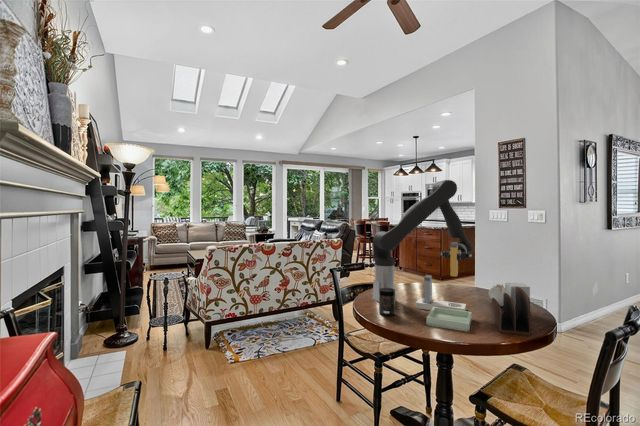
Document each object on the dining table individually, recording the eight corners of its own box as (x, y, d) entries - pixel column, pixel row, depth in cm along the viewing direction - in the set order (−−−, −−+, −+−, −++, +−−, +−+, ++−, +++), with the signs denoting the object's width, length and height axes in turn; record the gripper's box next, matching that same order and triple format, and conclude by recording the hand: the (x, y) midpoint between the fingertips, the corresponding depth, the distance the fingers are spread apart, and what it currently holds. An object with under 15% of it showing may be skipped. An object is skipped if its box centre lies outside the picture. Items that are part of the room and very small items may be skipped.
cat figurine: (506, 288, 148) (497, 277, 162) (489, 296, 150) (481, 284, 164) (518, 306, 148) (507, 293, 162) (500, 314, 150) (491, 301, 164)
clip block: (416, 308, 150) (416, 300, 150) (419, 303, 157) (419, 296, 157) (464, 314, 141) (464, 307, 141) (466, 309, 148) (466, 302, 147)
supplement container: (394, 311, 145) (394, 288, 145) (395, 317, 138) (395, 292, 138) (378, 311, 146) (378, 287, 146) (379, 316, 139) (379, 291, 139)
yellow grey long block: (450, 276, 144) (450, 243, 143) (451, 273, 148) (451, 241, 147) (456, 276, 143) (456, 244, 142) (457, 273, 147) (457, 242, 146)
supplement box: (530, 317, 137) (530, 287, 137) (510, 316, 138) (510, 286, 138) (523, 312, 144) (523, 282, 144) (504, 311, 146) (504, 282, 145)
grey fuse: (424, 308, 150) (424, 277, 149) (426, 305, 154) (426, 275, 154) (429, 309, 148) (430, 277, 148) (431, 306, 153) (431, 275, 153)
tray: (469, 331, 122) (469, 323, 122) (426, 325, 129) (426, 317, 129) (471, 319, 135) (471, 311, 135) (432, 313, 142) (433, 306, 142)
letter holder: (517, 318, 137) (518, 283, 137) (531, 336, 118) (531, 296, 118) (490, 315, 140) (491, 282, 140) (499, 332, 121) (500, 294, 121)
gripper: (442, 243, 161) (436, 247, 146) (474, 244, 155) (471, 249, 140) (442, 258, 162) (436, 264, 146) (473, 261, 155) (471, 267, 140)
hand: (453, 257), depth 143 cm, fingers closed on yellow grey long block, 2 cm apart
